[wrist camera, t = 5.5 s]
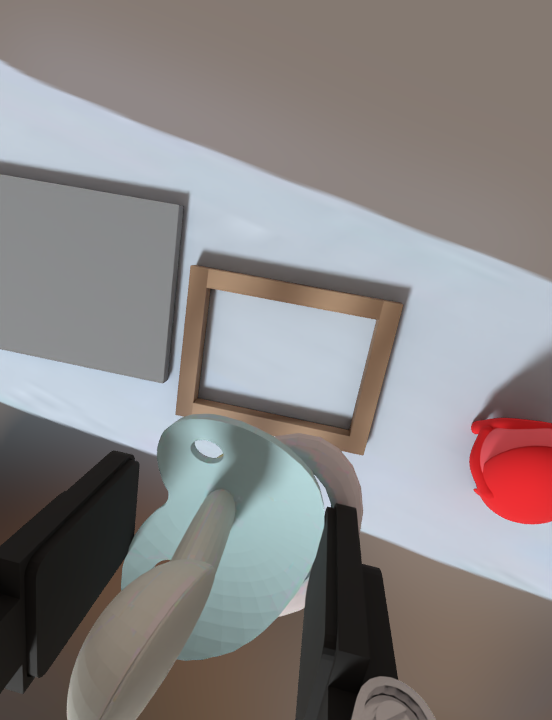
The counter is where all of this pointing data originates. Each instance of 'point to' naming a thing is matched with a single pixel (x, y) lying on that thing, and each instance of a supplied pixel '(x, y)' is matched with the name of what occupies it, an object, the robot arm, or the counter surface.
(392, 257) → the counter surface
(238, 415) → the pocket frame
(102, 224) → the slate mat
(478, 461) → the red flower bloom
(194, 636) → the pacifier
